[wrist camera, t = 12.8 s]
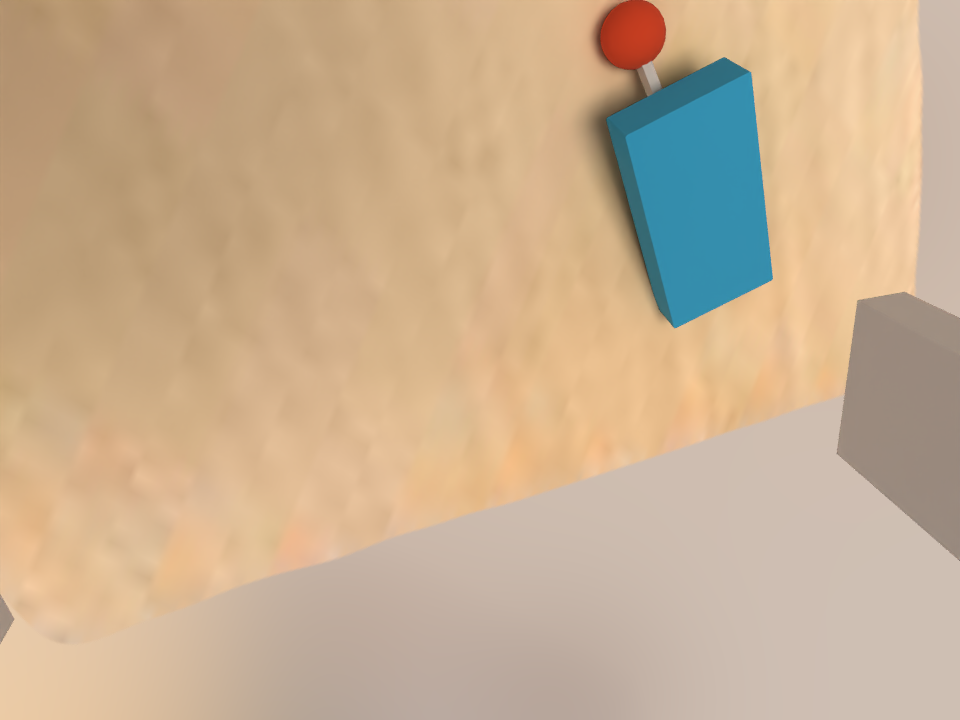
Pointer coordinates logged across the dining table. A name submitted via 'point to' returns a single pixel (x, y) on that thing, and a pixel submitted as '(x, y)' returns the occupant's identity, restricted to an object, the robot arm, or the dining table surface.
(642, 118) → the lever
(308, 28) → the dining table surface
